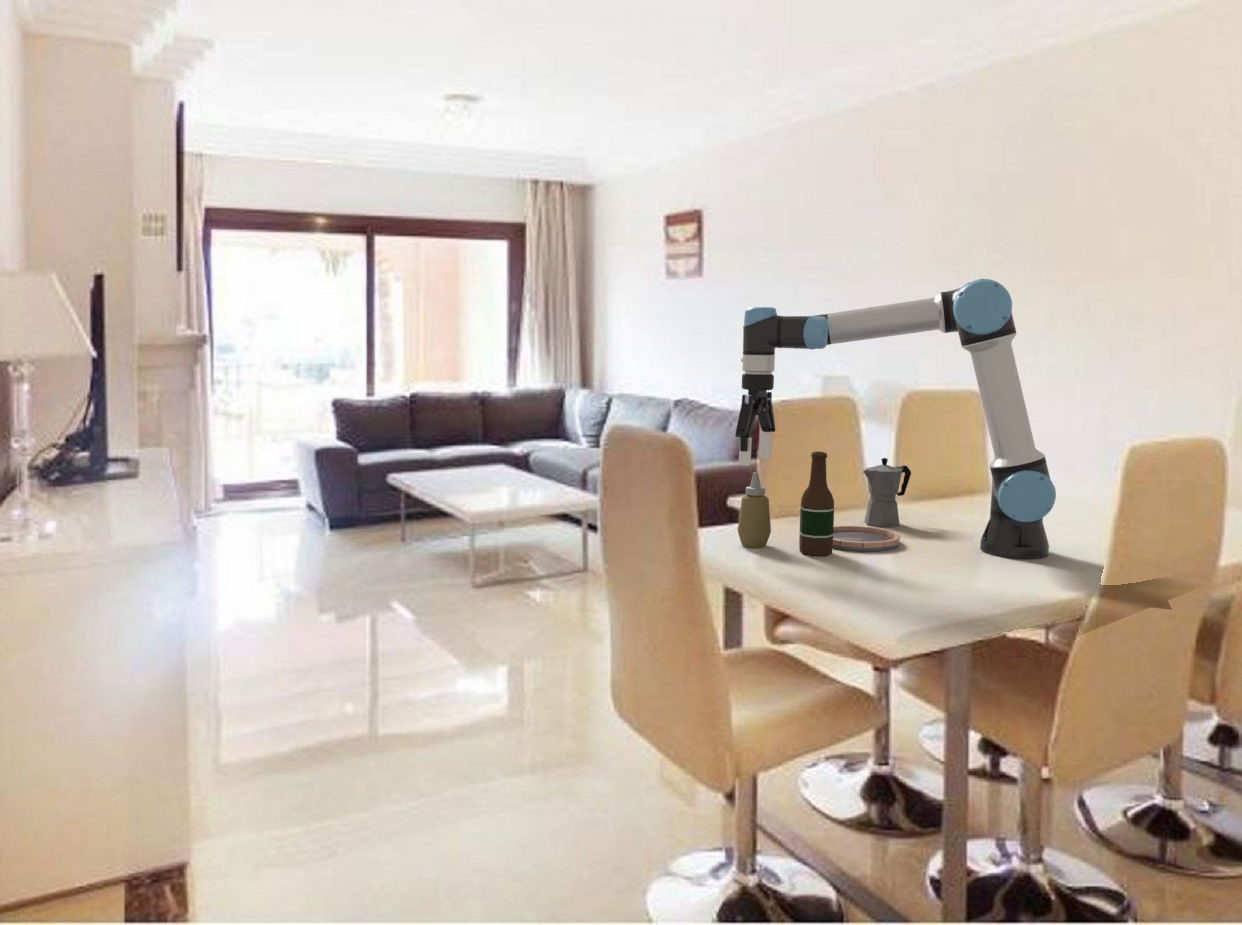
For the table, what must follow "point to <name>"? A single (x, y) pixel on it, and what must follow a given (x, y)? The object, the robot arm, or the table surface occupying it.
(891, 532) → the dish
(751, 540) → the squeeze bottle
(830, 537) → the beer bottle
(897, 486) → the coffeepot
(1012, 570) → the table surface
